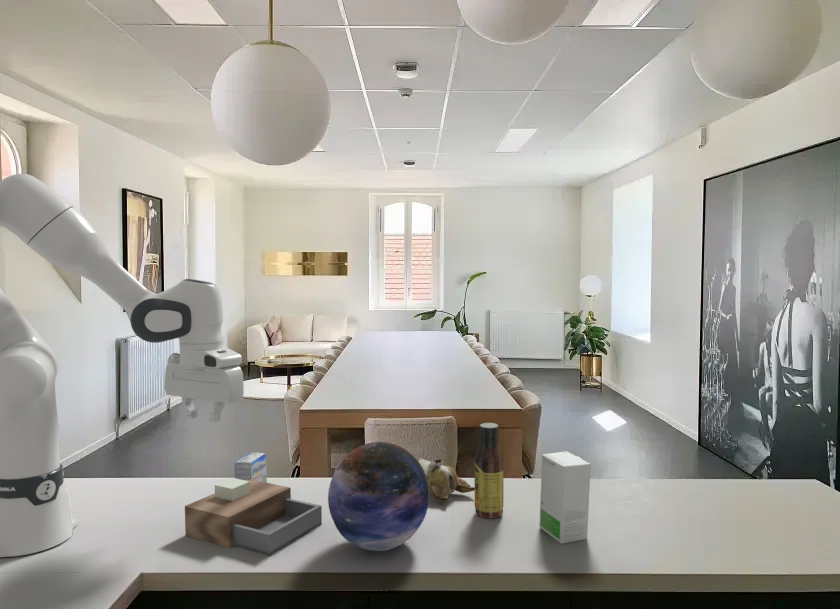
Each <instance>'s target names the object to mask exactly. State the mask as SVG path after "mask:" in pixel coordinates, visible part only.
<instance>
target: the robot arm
mask: <svg viewBox="0 0 840 609" xmlns="http://www.w3.org/2000/svg"><path fill="white" fill-rule="evenodd" d="M0 227H3V228H5V229H7V230H8V231H10V232H11V233H12V234H14V235H16V237H18V239H20V240H21V241H22V242H23V243H24V244H25V245H27V246H28V247H29V248H30V249H31V250H33V251H34V252H35V253H36V254H38V255H39V256H40V257H42V258H43V259H45V260H46V261H48V262H49V263H51V264H53V265H54V266H56V267H58V268H60V269H62V270H65V271H67V272H69V273H70V272H71V273H72V274H73V273H74V274H76V275H78V276H80V277H82V278H85V279H86V280H89V281H90V282H91V283H93V284H95V285H96V286H97V287H98V288H99V289H100V290H102V292H104V293H105V294H107V296H109V297H110V298H111V299H112V300H113V301H114V302H115V303H117V305H118V306H120V307H121V308H122V309H123V311H125V312H124V313H125V314H127V317H128V319H129V322H130V326H131V329H132V331H133V333H134V334H135V335H136V336H137V337H138V338H139V339H141V340H142V341H145V342H148V343H151V344H159V343H164V342H167V341H171V340H175V339H178V341H179V345H178V346H179V352H173V353H172V354H171V355H169V357H168V358H167V362H166V363H167V365H166V367H165V372H164V373H165V374H164V388H163V389H164V392H165V394H166V395H167V396H173V397H180V398H181V404H182V405H183V407H184V409H185V411H186V412H185V414H186V415H185V416H186V418H188V419H195V418H197V417H198V408H196V407H195V405H194V401H195V400H200V401H208V402H211V404H212V407H213V410H212V412H211V413H209V414H208V415H209V416H208V417H209V422H211V423H212V422H213V423H218V422H220V421H221V415H222V414H221V413H222V412H223V409H224V408H225V404H229V405H230V404H234V403H238V402H241V400H242V398H243V397H244V392H245V391H244V385H245V384H244V372H243V371H242V368H241V367H240V366H239V365H241V364H242V363H243V356H242V354H240V353H238V352H236V351H234V350H232V349H231V348H230V347H229V348H228V347H227V346H225V345H224V337H223V334H222V325H223V320H224V317H223V316H224V315H223V314H224V312H223V310H224V309H223V301H222V293H221V291H220V288H219V287H218V286H217V285H216V284H215V283H213V282H210V281H206V280H205V281H204V280H199V279H192V278H185V279H182V280H181V281H180V282H179V283H177V284H175V285H174V286H172V287H169V288H168V289H166V290H164V291H161V292H156V291H154V290H152V289H149V288H147V287H146V286H145V285H143V284H142V283H141V282H140V281H138V279H136V278H135V277H134V276H133V275H132V274H131V273H129V272H128V271H127V270H126V268H124V267H123V266H122V265H121V264H120V263H119V262H118V261H117V260H116V259H115V258H114V257H113V256H112V254H111V253H110V251H109V250H108V248H107V247H106V244H105V243H104V241H103V239H102V238H101V235H100V234H99V233H98V232H97V230H96V229H95V228H94V226H93V225H92V224H91V223H90V221H89V220H88V219H87V218H86V217H85V215H83V214H82V213H81V212H80V210H78V209H77V207H75V206H74V205H73V204H72V203H70V202H69V201H68V200H67V199H66V198H65V197H63V196H62V195H61V194H60V193H58V192H57V191H56V190H54V189H53V187H52V188H51V187H50V186H49V185H48V184H46V183H44V182H43V181H41V180H39V178H36V177H35V176H33V175H31V174H28V173H15V174H12V175H9V176H7V177H5V178H3V179H2V180H0ZM58 371H59V361H58V358H57V355H56V354H55V352H54V351H53V349H51V347H50V346H49V345H48V344H47V342H46V341H45V340H44V338H42V336H41V335H40V334H39V332H38V331H36V329H35V328H34V327H33V326H32V325H31V323H30V322H29V321H28V320H27V319H26V318H25V317H24V316H23V314H22V313H21V312H20V310H18V309H17V307H16V306H15V304H13V303H12V301H11V300H10V298H9V297H8V296H7V295H6V293H5V292H4V290H2V288H1V287H0V558H5V557H6V558H7V557H19V556H25V555H31V554H34V553H38V552H42V551H45V550H49V549H50V548H53V547H56V546H58V545H60V544H62V543H63V542H66V541H67V540H68V539H69V538H70V537H72V534H73V531H74V529H75V527H76V526H78V524H79V523H78V522H79V521H78V518H75V517H73V514H72V507H71V506H72V505H71V499H70V492H69V488H68V487H66V486H64V485H63V484H64V483H65V482H64V480H65V479H64V476H65V471H64V467H63V464H61V455H60V454H61V452H60V448H61V447H60V428H59V426H60V424H59V418H58V409H57V408H58V407H57V400H56V399H57V397H56V396H57V395H56V379H57V378H56V377H57V376H58V375H57V374H58V373H59V372H58Z"/></svg>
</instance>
